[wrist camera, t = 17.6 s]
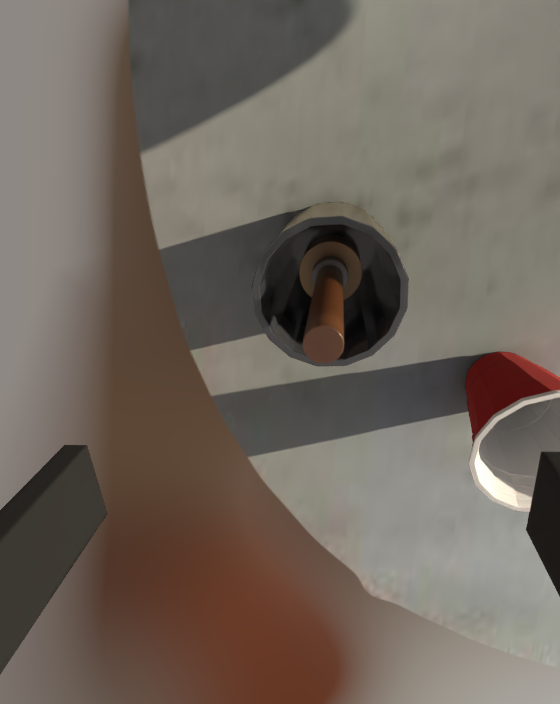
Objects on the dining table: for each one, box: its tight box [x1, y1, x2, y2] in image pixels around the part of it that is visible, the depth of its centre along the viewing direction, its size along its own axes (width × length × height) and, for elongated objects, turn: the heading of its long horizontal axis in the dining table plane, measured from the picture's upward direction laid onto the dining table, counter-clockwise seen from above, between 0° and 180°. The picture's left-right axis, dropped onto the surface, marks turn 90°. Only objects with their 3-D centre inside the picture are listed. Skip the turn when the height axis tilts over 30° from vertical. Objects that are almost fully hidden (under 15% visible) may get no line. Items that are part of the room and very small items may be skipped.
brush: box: [299, 235, 362, 364], centre depth 29 cm, size 5×5×18 cm
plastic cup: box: [465, 352, 560, 512], centre depth 35 cm, size 11×11×12 cm
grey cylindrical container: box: [252, 202, 409, 366], centre depth 33 cm, size 10×10×11 cm
